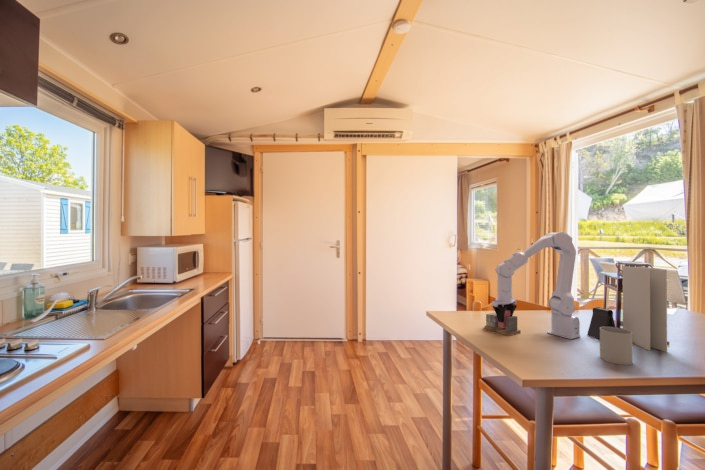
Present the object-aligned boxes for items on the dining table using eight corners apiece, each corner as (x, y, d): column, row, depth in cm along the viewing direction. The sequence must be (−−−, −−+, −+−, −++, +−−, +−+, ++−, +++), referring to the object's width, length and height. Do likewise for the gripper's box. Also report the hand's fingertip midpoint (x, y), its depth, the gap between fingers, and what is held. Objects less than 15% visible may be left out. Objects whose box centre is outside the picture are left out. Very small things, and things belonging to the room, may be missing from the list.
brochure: (667, 351, 109) (666, 269, 109) (649, 350, 110) (649, 269, 110) (638, 339, 122) (638, 266, 123) (622, 338, 124) (622, 266, 124)
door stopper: (601, 340, 121) (601, 310, 121) (587, 335, 127) (587, 307, 127) (618, 338, 123) (618, 309, 123) (603, 333, 129) (603, 306, 129)
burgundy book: (510, 326, 132) (510, 310, 132) (503, 327, 129) (503, 311, 129) (505, 324, 134) (505, 309, 134) (498, 326, 132) (498, 310, 132)
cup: (599, 352, 107) (599, 325, 107) (630, 358, 102) (630, 329, 102) (600, 360, 101) (600, 330, 101) (633, 366, 96) (633, 335, 96)
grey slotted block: (520, 333, 129) (520, 316, 129) (509, 335, 125) (509, 318, 126) (495, 325, 140) (495, 310, 140) (484, 328, 136) (484, 312, 136)
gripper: (506, 287, 139) (506, 316, 139) (486, 290, 132) (486, 320, 132) (521, 290, 133) (521, 320, 132) (500, 292, 126) (500, 325, 125)
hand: (504, 321), depth 132 cm, fingers closed on burgundy book, 5 cm apart
